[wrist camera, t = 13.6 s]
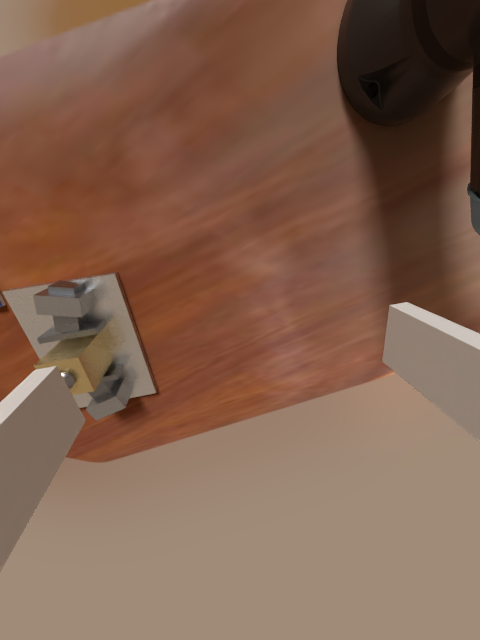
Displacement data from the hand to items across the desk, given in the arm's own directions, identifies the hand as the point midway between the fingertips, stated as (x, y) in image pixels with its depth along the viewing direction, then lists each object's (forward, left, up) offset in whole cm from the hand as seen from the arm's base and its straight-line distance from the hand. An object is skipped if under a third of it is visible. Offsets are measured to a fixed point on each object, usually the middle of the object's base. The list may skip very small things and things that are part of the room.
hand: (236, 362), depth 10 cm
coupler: (+10, -20, -26) cm, 34 cm away
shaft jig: (+10, -20, -27) cm, 35 cm away
